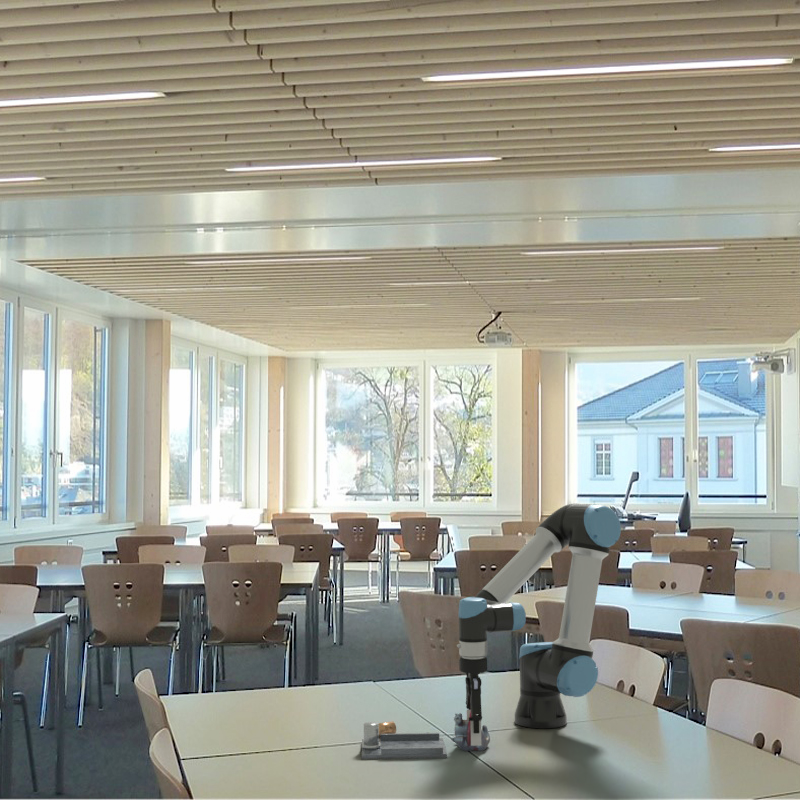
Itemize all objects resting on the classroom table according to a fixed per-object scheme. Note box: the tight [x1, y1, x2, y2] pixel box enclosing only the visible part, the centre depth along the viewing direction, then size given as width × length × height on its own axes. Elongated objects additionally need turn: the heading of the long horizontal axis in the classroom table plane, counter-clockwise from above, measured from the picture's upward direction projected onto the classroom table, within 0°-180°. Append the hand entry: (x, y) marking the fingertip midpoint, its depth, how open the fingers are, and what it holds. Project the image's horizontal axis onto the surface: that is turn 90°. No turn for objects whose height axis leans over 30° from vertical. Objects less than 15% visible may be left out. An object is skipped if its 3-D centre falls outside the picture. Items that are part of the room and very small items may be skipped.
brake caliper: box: [450, 711, 491, 752], centre depth 290 cm, size 11×11×12 cm
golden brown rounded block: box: [379, 721, 397, 738], centre depth 303 cm, size 6×4×4 cm, turn 122°
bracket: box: [361, 721, 448, 760], centre depth 287 cm, size 22×16×7 cm
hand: (473, 739), depth 290 cm, fingers closed on brake caliper, 11 cm apart
